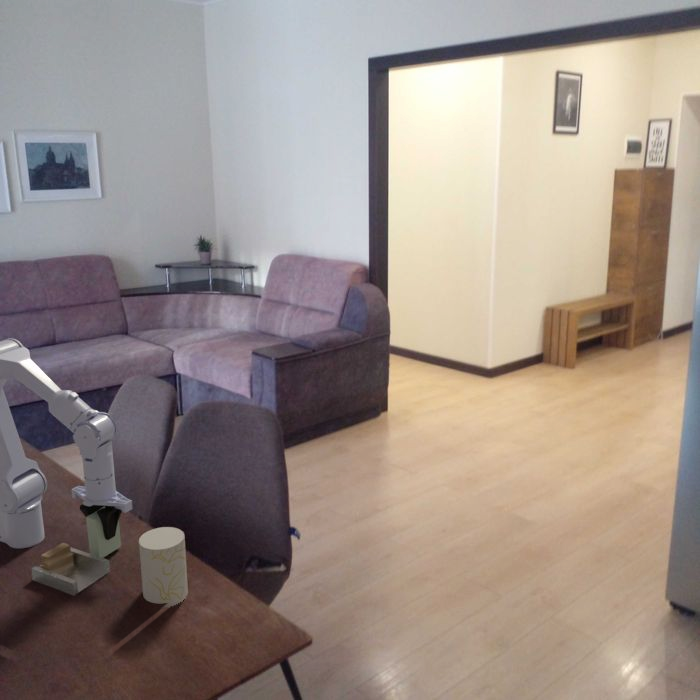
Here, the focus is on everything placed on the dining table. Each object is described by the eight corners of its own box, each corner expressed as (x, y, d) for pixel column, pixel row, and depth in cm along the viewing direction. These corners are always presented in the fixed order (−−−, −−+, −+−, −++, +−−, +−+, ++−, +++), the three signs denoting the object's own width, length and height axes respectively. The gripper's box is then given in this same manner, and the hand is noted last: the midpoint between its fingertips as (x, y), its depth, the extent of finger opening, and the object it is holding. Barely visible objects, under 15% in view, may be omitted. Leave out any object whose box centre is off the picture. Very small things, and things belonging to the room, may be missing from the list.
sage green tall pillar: (90, 557, 142) (85, 517, 140) (112, 543, 147) (108, 504, 145) (99, 560, 141) (95, 519, 139) (121, 546, 146) (117, 506, 144)
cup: (154, 613, 127) (150, 554, 124) (136, 593, 133) (131, 536, 130) (195, 597, 132) (192, 539, 129) (176, 578, 138) (172, 522, 135)
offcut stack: (40, 576, 136) (38, 556, 135) (65, 561, 142) (63, 542, 140) (49, 579, 135) (47, 559, 134) (73, 564, 140) (71, 544, 139)
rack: (33, 584, 135) (31, 568, 135) (70, 562, 143) (68, 546, 142) (74, 600, 131) (72, 583, 130) (110, 575, 138) (109, 560, 138)
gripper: (57, 474, 140) (63, 536, 143) (111, 489, 133) (117, 553, 137) (84, 462, 146) (90, 521, 149) (137, 475, 140) (142, 537, 143)
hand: (104, 535), depth 143 cm, fingers closed on sage green tall pillar, 2 cm apart
